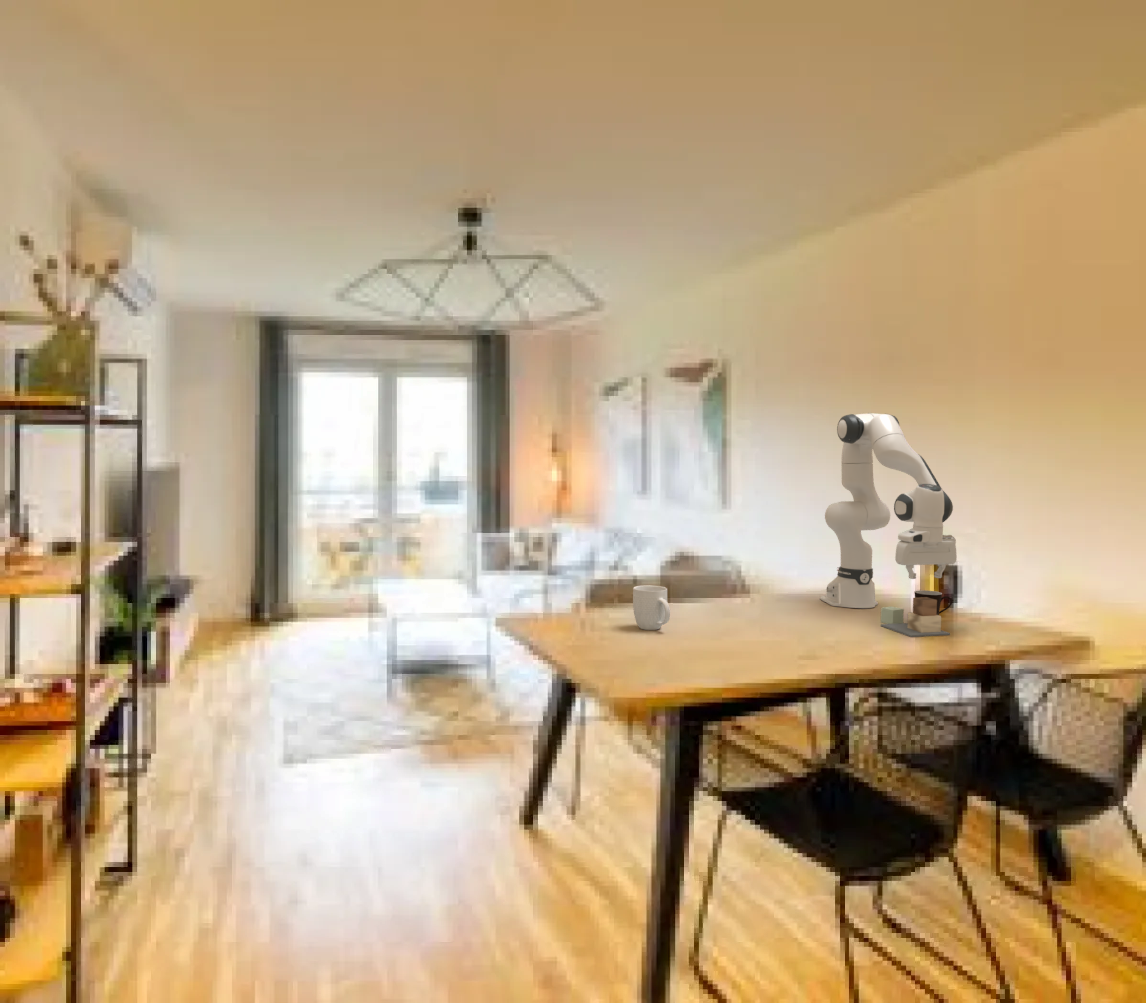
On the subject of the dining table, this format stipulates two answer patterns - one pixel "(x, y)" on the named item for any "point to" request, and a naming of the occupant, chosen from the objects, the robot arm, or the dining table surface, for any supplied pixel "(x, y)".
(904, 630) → the mat
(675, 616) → the dining table surface
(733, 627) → the dining table surface
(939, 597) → the coffee mug
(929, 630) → the base block
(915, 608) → the walnut block
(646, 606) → the mug
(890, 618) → the sage block
